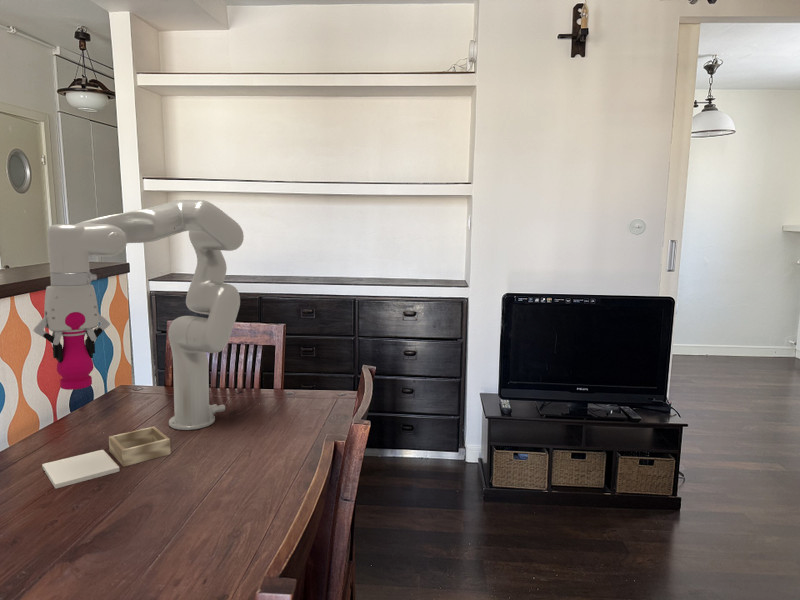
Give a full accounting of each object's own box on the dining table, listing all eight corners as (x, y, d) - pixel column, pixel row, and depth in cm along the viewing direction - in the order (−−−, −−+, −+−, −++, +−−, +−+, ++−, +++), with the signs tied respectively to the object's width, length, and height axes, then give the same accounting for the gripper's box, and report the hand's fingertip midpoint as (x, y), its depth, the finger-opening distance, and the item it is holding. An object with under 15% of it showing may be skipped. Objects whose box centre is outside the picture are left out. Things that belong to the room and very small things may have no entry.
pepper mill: (77, 391, 119) (72, 303, 116) (49, 388, 121) (44, 300, 118) (101, 382, 126) (97, 298, 124) (75, 379, 128) (70, 296, 125)
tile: (103, 453, 136) (102, 449, 135) (119, 471, 126) (119, 467, 126) (42, 468, 127) (42, 464, 126) (55, 488, 117) (55, 484, 117)
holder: (154, 440, 144) (154, 426, 144) (170, 454, 136) (170, 439, 136) (109, 451, 137) (108, 436, 136) (123, 466, 129) (122, 450, 128)
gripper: (107, 276, 129) (110, 350, 131) (21, 280, 117) (26, 361, 119) (117, 279, 123) (120, 356, 126) (28, 283, 112) (33, 368, 114)
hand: (74, 358), depth 123 cm, fingers closed on pepper mill, 5 cm apart
